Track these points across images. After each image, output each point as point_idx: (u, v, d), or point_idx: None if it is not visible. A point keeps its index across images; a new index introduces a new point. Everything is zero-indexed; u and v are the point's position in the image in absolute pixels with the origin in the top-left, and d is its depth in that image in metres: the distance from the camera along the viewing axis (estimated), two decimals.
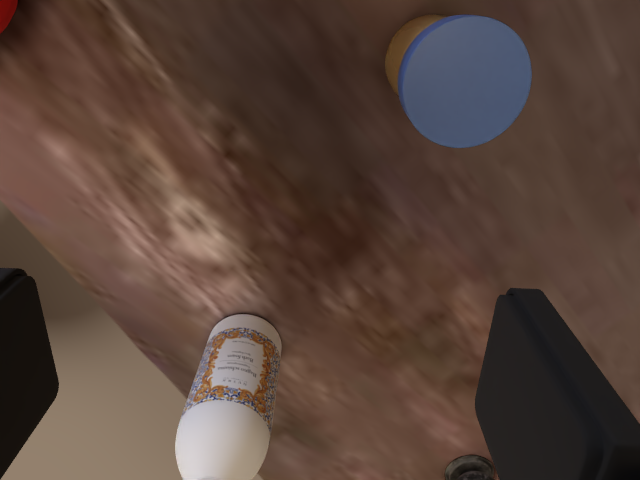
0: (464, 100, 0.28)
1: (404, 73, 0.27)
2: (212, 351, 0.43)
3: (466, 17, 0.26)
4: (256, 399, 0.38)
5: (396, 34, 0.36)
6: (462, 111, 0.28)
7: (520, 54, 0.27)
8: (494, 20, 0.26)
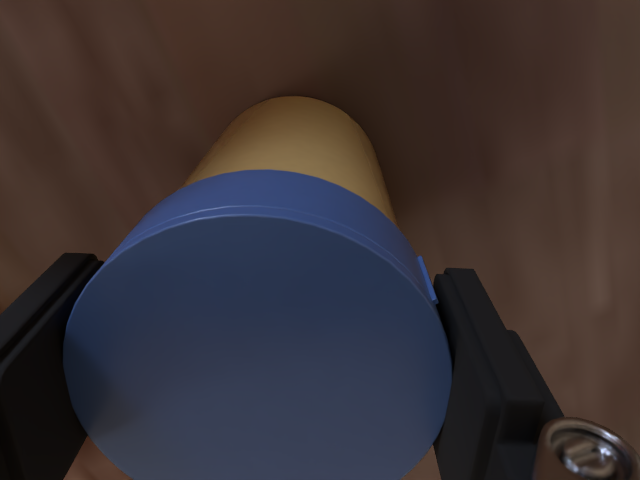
0: (244, 423, 0.09)
1: (76, 306, 0.08)
2: None
3: (296, 222, 0.08)
4: None
5: (241, 114, 0.18)
6: (234, 445, 0.10)
7: (430, 367, 0.09)
8: (381, 259, 0.08)
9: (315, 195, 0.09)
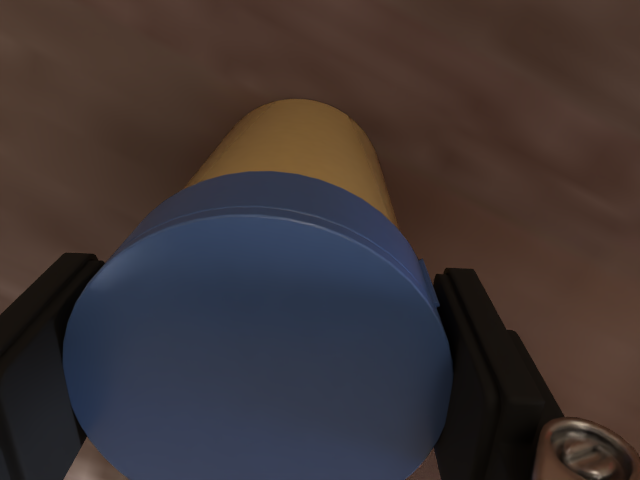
0: (244, 425, 0.09)
1: None
2: None
3: (298, 223, 0.08)
4: None
5: None
6: (233, 447, 0.10)
7: (431, 370, 0.09)
8: (383, 261, 0.08)
9: (317, 197, 0.09)
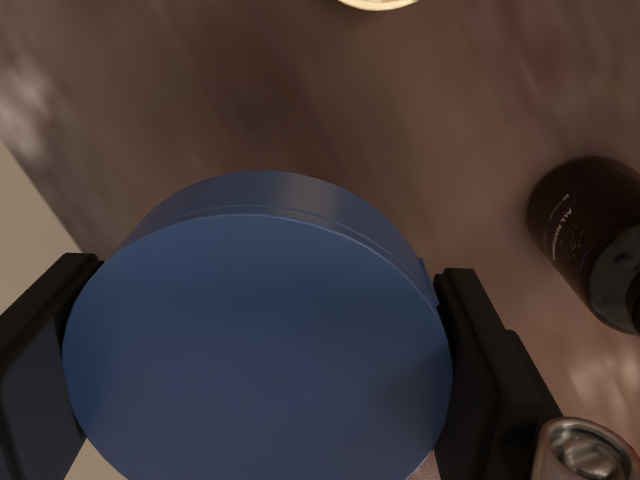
0: (243, 426, 0.09)
1: (75, 305, 0.08)
2: None
3: (296, 222, 0.08)
4: None
5: None
6: (233, 447, 0.09)
7: (431, 369, 0.09)
8: (382, 259, 0.08)
9: (316, 196, 0.09)
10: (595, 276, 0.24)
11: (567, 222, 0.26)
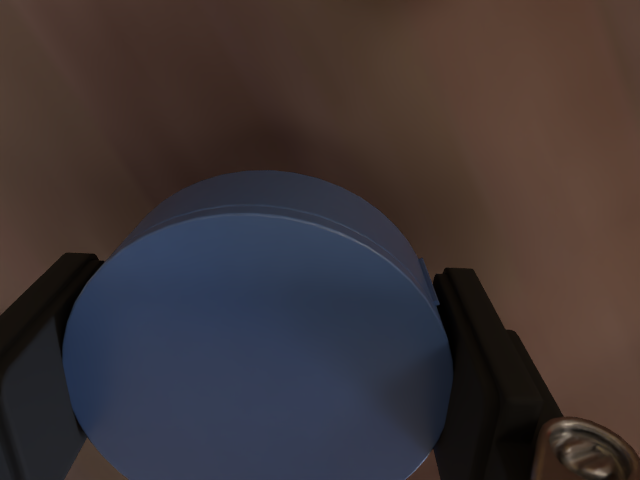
0: (243, 425, 0.09)
1: (76, 305, 0.08)
2: None
3: (296, 221, 0.08)
4: None
5: None
6: (234, 447, 0.09)
7: (431, 369, 0.09)
8: (382, 259, 0.08)
9: (316, 195, 0.09)
10: None
11: None
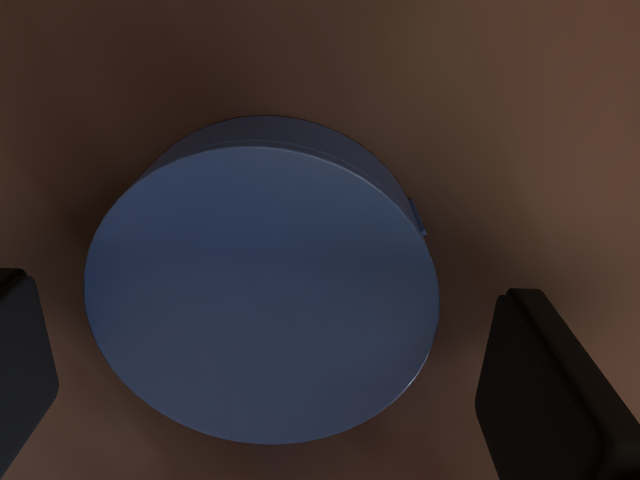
0: (249, 348, 0.10)
1: None
2: None
3: (296, 154, 0.08)
4: None
5: None
6: (240, 369, 0.10)
7: (419, 293, 0.10)
8: (374, 189, 0.09)
9: (314, 135, 0.09)
10: None
11: None
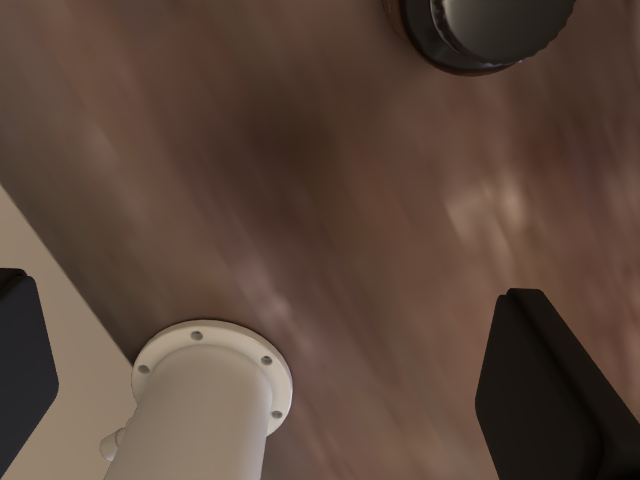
0: None
1: None
2: None
3: None
4: None
5: None
6: None
7: None
8: None
9: None
10: None
11: None
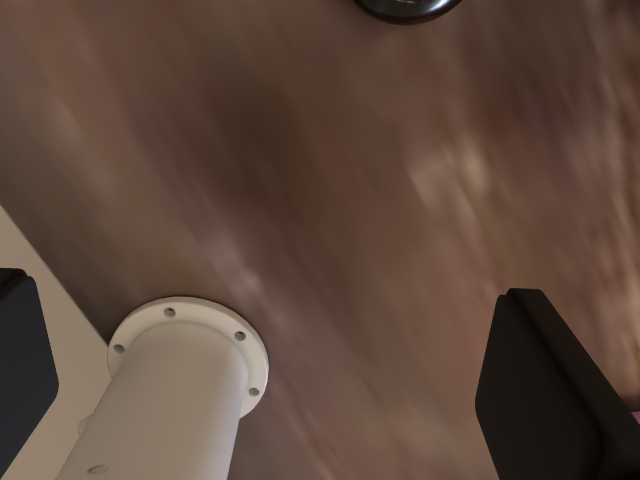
0: None
1: None
2: None
3: None
4: None
5: None
6: None
7: None
8: None
9: None
10: None
11: None
